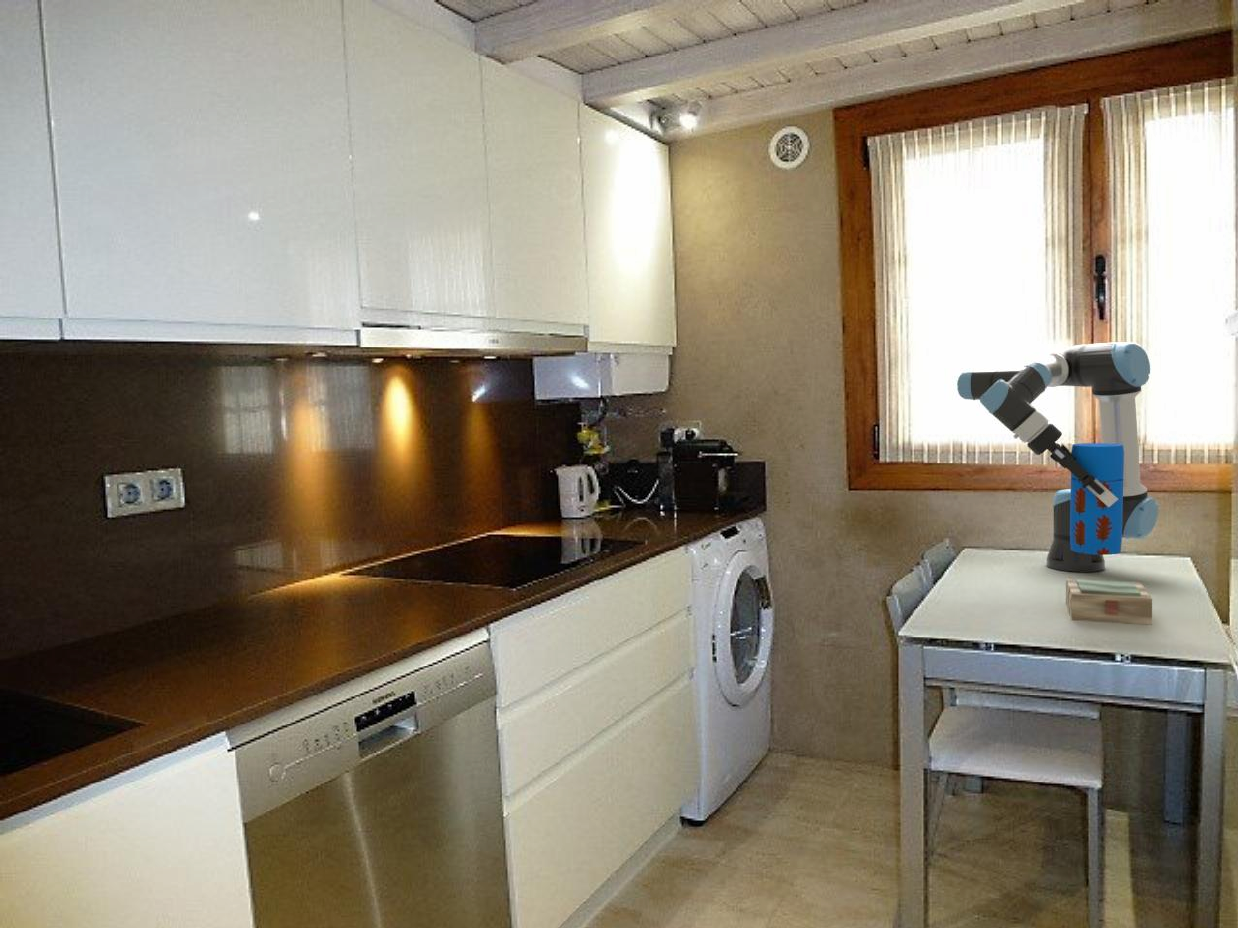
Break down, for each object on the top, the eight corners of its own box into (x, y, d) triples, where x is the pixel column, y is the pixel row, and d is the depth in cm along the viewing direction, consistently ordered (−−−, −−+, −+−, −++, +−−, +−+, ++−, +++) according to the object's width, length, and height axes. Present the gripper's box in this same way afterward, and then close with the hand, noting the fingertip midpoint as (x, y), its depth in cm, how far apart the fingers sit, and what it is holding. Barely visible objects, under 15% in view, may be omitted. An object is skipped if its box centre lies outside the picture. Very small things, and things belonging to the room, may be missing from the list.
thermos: (1128, 555, 202) (1130, 446, 200) (1077, 554, 205) (1079, 447, 202) (1112, 546, 213) (1115, 442, 210) (1064, 545, 215) (1066, 443, 213)
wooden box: (1065, 602, 219) (1066, 576, 218) (1139, 607, 213) (1140, 580, 212) (1072, 620, 204) (1072, 592, 203) (1152, 625, 198) (1152, 596, 197)
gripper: (1024, 440, 223) (1092, 503, 218) (1026, 448, 202) (1102, 518, 197) (1047, 419, 220) (1117, 482, 216) (1052, 425, 199) (1130, 495, 194)
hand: (1110, 499), depth 206 cm, fingers closed on thermos, 11 cm apart
